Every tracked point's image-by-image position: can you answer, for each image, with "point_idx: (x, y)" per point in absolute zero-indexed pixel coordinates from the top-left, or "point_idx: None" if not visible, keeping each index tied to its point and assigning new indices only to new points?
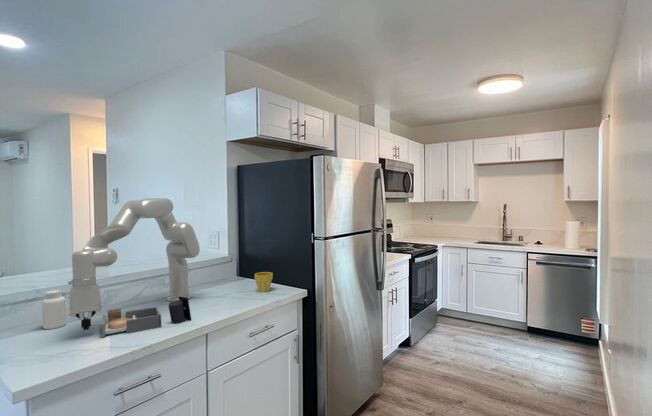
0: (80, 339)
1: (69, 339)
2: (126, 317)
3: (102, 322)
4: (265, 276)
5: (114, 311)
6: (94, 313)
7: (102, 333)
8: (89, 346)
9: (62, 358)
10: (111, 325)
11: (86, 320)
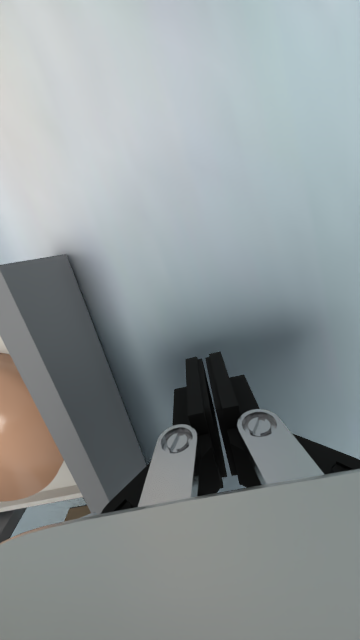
0: (220, 283)
1: (296, 312)
2: (1, 525)
3: (33, 355)
4: None
5: None
6: (114, 502)
7: (47, 257)
8: (87, 53)
9: None
10: (13, 376)
11: (205, 409)
